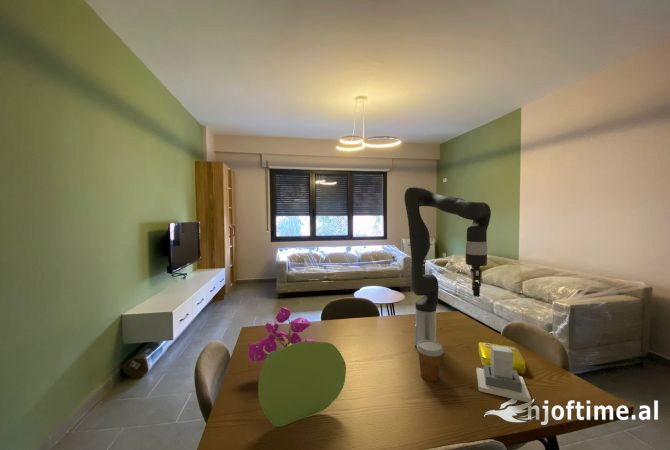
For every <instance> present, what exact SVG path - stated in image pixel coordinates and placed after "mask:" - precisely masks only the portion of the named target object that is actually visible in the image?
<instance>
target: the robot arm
mask: <svg viewBox="0 0 670 450" xmlns="http://www.w3.org/2000/svg"><path fill="white" fill-rule="evenodd" d="M403 199H404V205H405V211H406V216H407V223H408V224H407V225H408V232H409V233H408V235H409V248H410V256H411V257H410V258H411V259H410V261H411V286H412V291H413V293H414V294H415V295H416V296H422V298H420V299H418V300H417V301H416V302H415V324H414V346H415V347H417V345H418V342H419V341H421V340H432V341H435V342H437V306H438V303H439V301H438V300H439V280H438V279H437V277H436V276H435V275H434V274H423V265H424V261H426V258H427V256H428V254H429V251H430V249H431V238H430V236H431V235H430V231H429V229H428V227H427V225H426V224H425V222H424V220H423V218H422V216H421V211H420V207H430V208H436V209H438V210H439V211H441V212H443V213H447V214H451V215H456V216H458V217H461V218H462V219H466V220H470V221H472V222H471V226H468V227H467V229H466V243H465V264H466V265H467V266H471V268H470V269H469V271H470V272H469V273H470V278H471V289H472V290H471V291H472V294H473V297H476V298H479V297H480V295H481V292H480V291H481V286H482V278H483V277H482V276H483V270H482V268H481V267H485V266H486V267H487V265H488V245H487V241H488V239H487V238H488V237H487V236H488V235H487V232H488V227H489V225H490V221H491V217H492V216H491V215H492V212H491V211H492V210H491V207H490V206H489V204H488V203H486V202H485V201H484V202H482V201H469V200H465V199H463V198H459V197H455V196H450V195H443V194H438V193H436V192H432V191H431V190H428V189H426V188H423V187H417V186H409V187H407V188H406V190H405V191H404V198H403Z"/></svg>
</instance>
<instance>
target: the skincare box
mask: <svg viewBox="0 0 670 450" xmlns="http://www.w3.org/2000/svg"><path fill="white" fill-rule="evenodd" d="M491 375H492V376H497V377H502V378H507V379H511V380H513V352H512V351H511V350H510V348H509V347H501V346H492V345H491Z"/></svg>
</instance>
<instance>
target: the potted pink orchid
mask: <svg viewBox="0 0 670 450" xmlns="http://www.w3.org/2000/svg"><path fill="white" fill-rule="evenodd" d="M291 314H292V313H291V310H290V309H289V308H287V307H281V308H280V309H279V311H277V314H276V316H275V319H276V321H277V323H275V322H270V321H269V322H266V324H265V330H266V332H268V337H262V338H261V339H259V342H258V343H254V342H253V343H251V344H249V346H248V349H247V351H248V353H247V354H248V358H249V360H250V361H251V362H254V363H261V362H263V361H265V362H264V364H263V366H262V368H261V371H260V374H259V377H258V378H259V379H258V383H257V384H258V385H257V393H258V401H259V405H260V407H261V409H262V412H263V413H264V416H265V417H266V418H267V420H268V421H269V422H270V423H271V424H272V425H273V426H275V427H284V426H286V425H289V424H292V423H295V422H298V421H300V420H302V419H305V418H308V417H310V416H313V415H316V414H317V413H320V412H322V411H324V410H326V409H328V408H329V406H331V405H332V403H334V402H335V400H337V398H338V397H339V396H340V394H341V393H342V390H343V388H344V387H345V382H346V372H347V365H346V364H347V363H346V360H345V359H344V357H343V356H342V353H341V351H340V350H339V349H338V348H337V347H336V346H335V345H334V344H333V343H330V342H327V341H316V340H315V339H312V338H305V341H303V340H302V338H301V336H300V335H299V334H298V333H303V332H304V330H306V329H308V328H309V327H311V325H312V324H311V322H310V321H309V320H308V319H307V318H305V317H297V318H295V319H293V320H291V321H290V316H291ZM286 321H287V322H288V333H286V332H284V331H281V330H280V331H278V330H279V324H278V323H280V324H283V323H284V322H286ZM291 332H292V334H291ZM269 333H270V334H269ZM277 341H278V343H280V345H282V346H283V348H281V349H279V350H277V349H278V348H277V347H278V346H277V343H276V342H277ZM283 342H284V343H285V344H284V343H283Z"/></svg>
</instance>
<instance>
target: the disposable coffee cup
mask: <svg viewBox="0 0 670 450" xmlns="http://www.w3.org/2000/svg"><path fill="white" fill-rule="evenodd" d="M416 349H417V352H418V360H419V361H418V362H419V369H420V376H421V377H422V378H423V379H424V380H426V381H437V380H438V379H439V377H440V370H441V369H440V368H441V362H442V356H443V353H444V348H443V345H442V344H441V343H439V342H438V341H436V342H435V341H432V340H421V341H419V342H418V345H417V346H416Z"/></svg>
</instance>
